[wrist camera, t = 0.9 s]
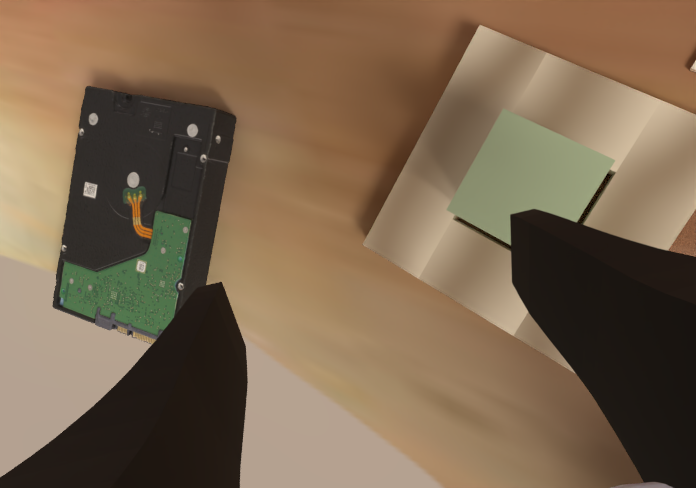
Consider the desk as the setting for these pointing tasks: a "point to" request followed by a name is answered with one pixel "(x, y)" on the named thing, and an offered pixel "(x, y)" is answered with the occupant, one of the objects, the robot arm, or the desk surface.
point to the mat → (693, 67)
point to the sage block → (527, 176)
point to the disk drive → (141, 209)
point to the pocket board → (558, 116)
